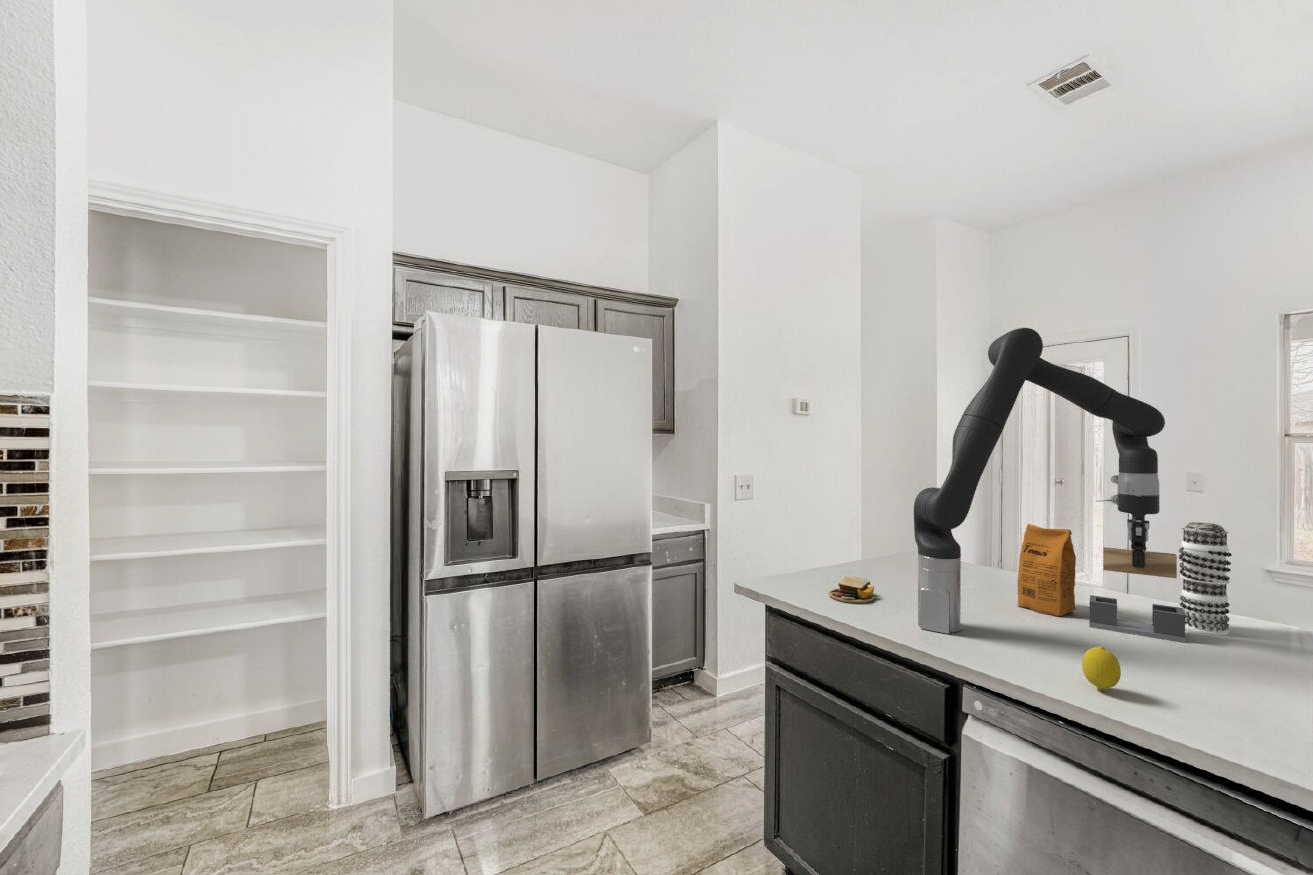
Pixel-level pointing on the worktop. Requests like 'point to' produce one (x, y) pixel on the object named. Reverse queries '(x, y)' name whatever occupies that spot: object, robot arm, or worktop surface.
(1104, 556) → the slat
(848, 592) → the toy sandwich meal
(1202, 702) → the worktop surface
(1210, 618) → the decorative candle
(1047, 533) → the coffee package
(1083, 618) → the worktop surface
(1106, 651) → the lemon
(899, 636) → the worktop surface
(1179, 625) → the rail
